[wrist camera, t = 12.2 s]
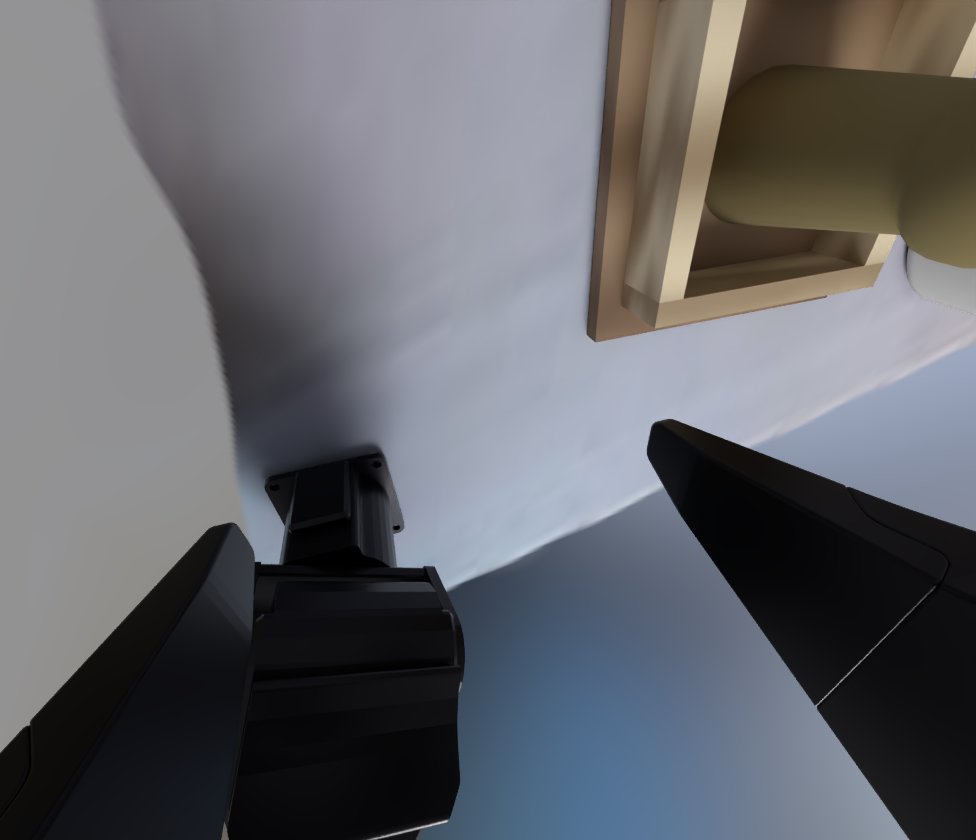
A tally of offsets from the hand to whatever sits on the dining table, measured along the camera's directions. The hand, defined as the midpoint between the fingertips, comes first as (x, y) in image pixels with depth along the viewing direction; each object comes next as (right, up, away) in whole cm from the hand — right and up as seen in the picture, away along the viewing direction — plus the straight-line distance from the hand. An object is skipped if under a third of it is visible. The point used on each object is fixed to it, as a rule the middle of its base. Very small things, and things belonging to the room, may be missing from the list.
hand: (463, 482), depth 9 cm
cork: (+13, +14, +10) cm, 21 cm away
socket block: (+13, +14, +11) cm, 22 cm away
